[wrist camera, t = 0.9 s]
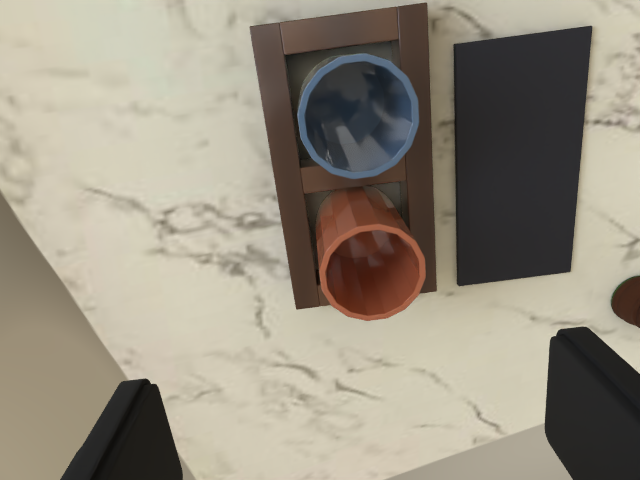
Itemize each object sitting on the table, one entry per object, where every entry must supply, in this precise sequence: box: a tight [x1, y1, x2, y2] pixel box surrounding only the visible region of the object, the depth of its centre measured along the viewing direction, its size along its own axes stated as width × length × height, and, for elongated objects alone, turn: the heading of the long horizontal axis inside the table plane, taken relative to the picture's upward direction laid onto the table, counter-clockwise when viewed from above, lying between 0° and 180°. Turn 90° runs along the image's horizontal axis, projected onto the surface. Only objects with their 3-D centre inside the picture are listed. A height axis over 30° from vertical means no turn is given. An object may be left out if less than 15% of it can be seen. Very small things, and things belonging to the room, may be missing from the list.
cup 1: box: [297, 53, 419, 179], centre depth 30 cm, size 7×7×10 cm
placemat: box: [454, 26, 592, 286], centre depth 37 cm, size 20×10×1 cm, turn 7°
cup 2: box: [315, 185, 426, 321], centre depth 34 cm, size 7×7×10 cm
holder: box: [250, 3, 437, 309], centre depth 36 cm, size 12×22×3 cm, turn 7°
